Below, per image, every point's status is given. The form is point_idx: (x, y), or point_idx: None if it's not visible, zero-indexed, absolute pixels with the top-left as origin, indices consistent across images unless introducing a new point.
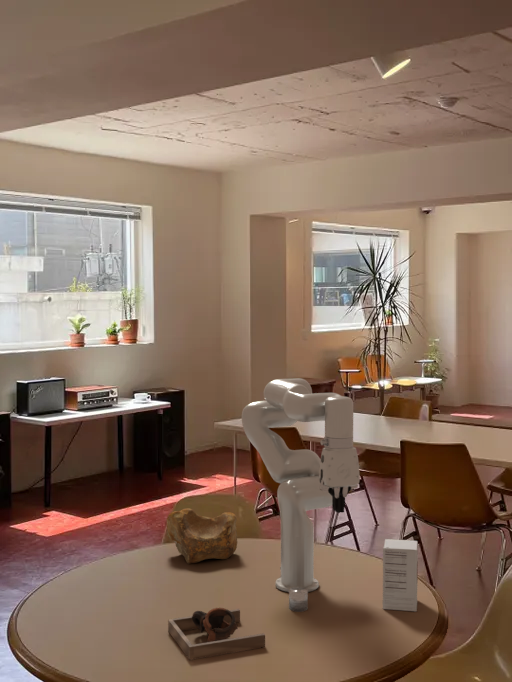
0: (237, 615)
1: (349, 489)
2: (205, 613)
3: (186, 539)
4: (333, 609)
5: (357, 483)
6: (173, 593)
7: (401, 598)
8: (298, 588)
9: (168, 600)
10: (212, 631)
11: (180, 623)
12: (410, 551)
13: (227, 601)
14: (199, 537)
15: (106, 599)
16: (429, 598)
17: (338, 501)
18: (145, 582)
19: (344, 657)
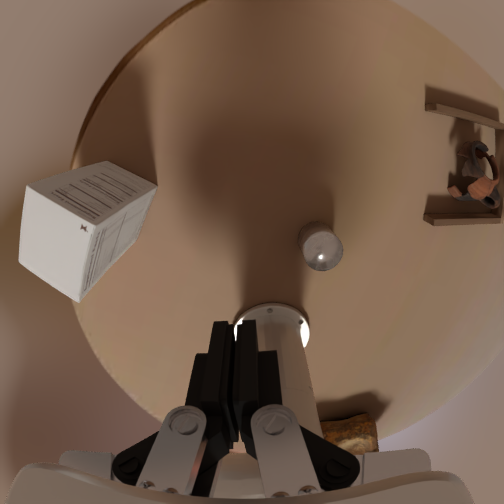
0: (433, 217)
1: (129, 458)
2: (491, 195)
3: (376, 436)
4: (252, 212)
5: (31, 467)
6: (435, 336)
7: (118, 173)
8: (319, 262)
9: (451, 315)
10: (486, 153)
11: (492, 216)
12: (40, 190)
13: (401, 298)
14: (365, 439)
15: (485, 327)
16: None
17: (257, 380)
18: (436, 369)
19: (321, 15)
